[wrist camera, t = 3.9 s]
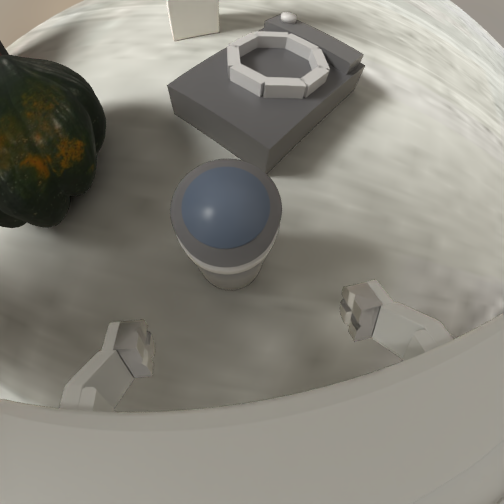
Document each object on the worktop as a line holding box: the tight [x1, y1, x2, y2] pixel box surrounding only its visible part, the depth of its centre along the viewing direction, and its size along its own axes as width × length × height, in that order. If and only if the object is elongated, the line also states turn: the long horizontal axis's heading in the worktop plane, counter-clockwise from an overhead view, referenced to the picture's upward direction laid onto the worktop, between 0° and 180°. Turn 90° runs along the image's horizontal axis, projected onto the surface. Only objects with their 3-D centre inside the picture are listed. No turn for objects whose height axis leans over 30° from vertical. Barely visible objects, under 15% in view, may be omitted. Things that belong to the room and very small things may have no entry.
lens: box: [170, 159, 282, 290], centre depth 16 cm, size 5×5×10 cm
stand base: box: [167, 12, 365, 174], centre depth 22 cm, size 16×11×6 cm
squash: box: [0, 55, 106, 228], centre depth 17 cm, size 14×15×15 cm
